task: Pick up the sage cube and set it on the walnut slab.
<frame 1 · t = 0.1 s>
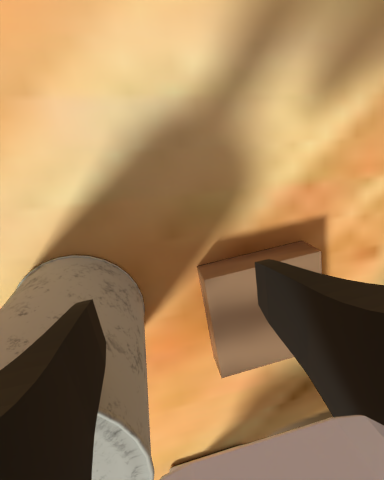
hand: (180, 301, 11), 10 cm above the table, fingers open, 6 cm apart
walnut slab: (256, 301, 25), on the table
grey cylinder: (81, 311, 22), on the table, touching gripper
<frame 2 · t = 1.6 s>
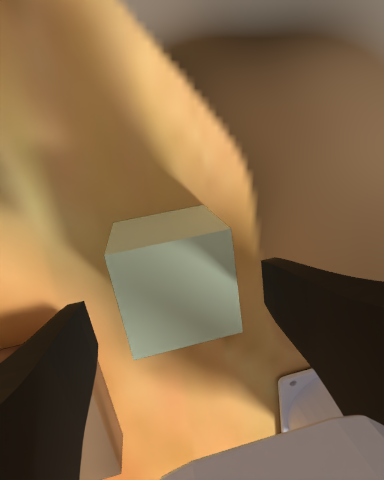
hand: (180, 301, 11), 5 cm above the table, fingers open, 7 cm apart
walnut slab: (34, 405, 18), on the table
sage cube: (167, 254, 17), on the table
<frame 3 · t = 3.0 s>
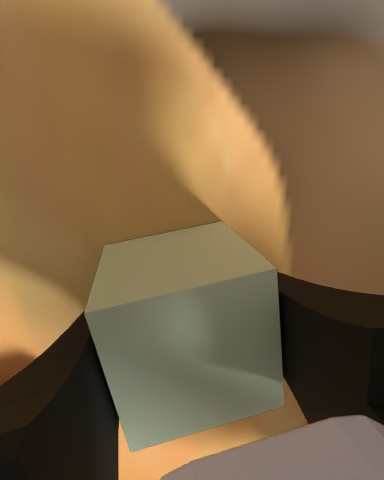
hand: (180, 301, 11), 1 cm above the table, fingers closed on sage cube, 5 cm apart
sage cube: (175, 285, 13), on the table, touching gripper
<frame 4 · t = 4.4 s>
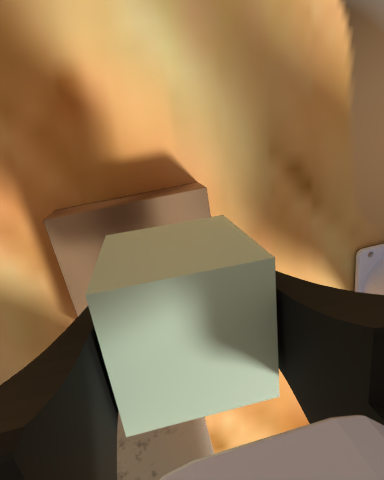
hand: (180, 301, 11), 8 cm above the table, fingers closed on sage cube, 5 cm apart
walnut slab: (144, 260, 20), on the table
grey cylinder: (146, 415, 24), on the table
sage cube: (174, 277, 13), point 7 cm above the table, touching gripper
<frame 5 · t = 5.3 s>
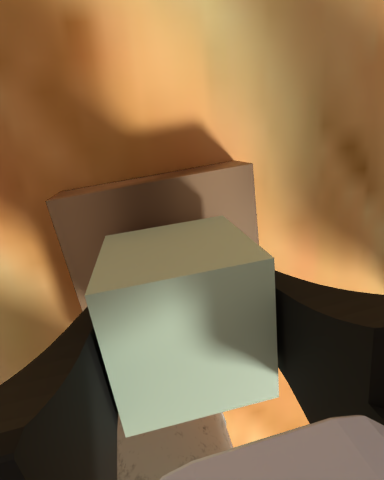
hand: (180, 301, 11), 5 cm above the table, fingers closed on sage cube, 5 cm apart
walnut slab: (166, 255, 16), on the table
grey cylinder: (161, 437, 21), on the table
sage cube: (174, 278, 13), point 3 cm above the table, touching gripper
when the fingers open (5 cm above the table, at t = 6.1 s): sage cube stays where it is, resting on walnut slab.
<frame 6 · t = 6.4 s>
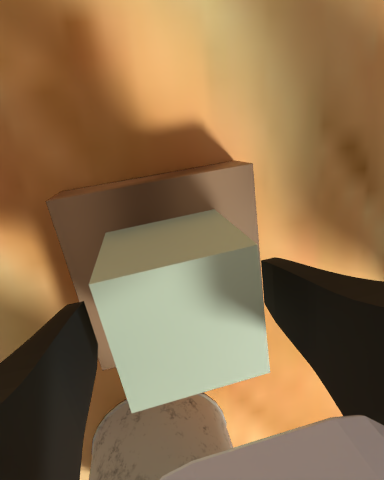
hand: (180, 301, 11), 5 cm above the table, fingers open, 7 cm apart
walnut slab: (166, 255, 16), on the table
grey cylinder: (161, 437, 21), on the table
sage cube: (171, 269, 14), point 2 cm above the table, touching walnut slab
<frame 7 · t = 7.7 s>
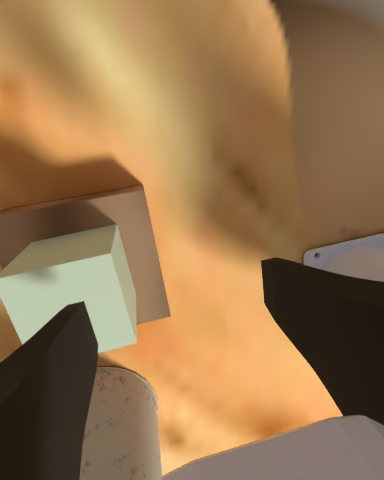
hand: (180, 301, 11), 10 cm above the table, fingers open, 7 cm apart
walnut slab: (93, 258, 20), on the table
grey cylinder: (102, 409, 25), on the table
sage cube: (87, 270, 18), point 2 cm above the table, touching walnut slab
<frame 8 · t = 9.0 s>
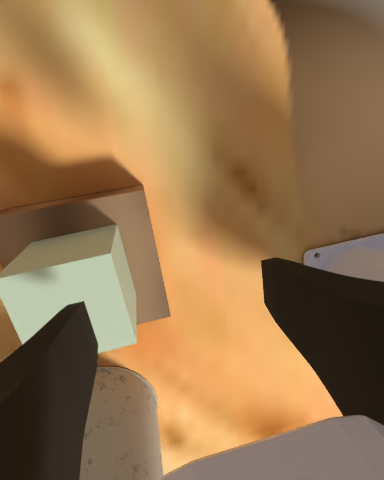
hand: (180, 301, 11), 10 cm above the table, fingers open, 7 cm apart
walnut slab: (93, 258, 20), on the table
grey cylinder: (102, 409, 25), on the table
sage cube: (87, 270, 18), point 2 cm above the table, touching walnut slab
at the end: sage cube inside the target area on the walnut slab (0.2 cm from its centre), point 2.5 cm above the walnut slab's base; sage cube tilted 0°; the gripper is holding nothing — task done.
